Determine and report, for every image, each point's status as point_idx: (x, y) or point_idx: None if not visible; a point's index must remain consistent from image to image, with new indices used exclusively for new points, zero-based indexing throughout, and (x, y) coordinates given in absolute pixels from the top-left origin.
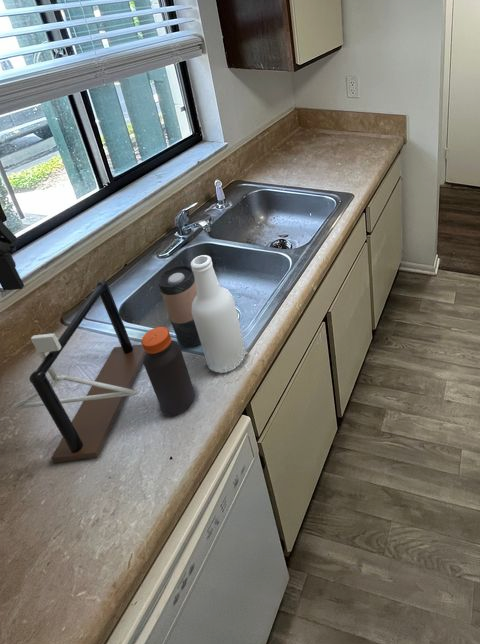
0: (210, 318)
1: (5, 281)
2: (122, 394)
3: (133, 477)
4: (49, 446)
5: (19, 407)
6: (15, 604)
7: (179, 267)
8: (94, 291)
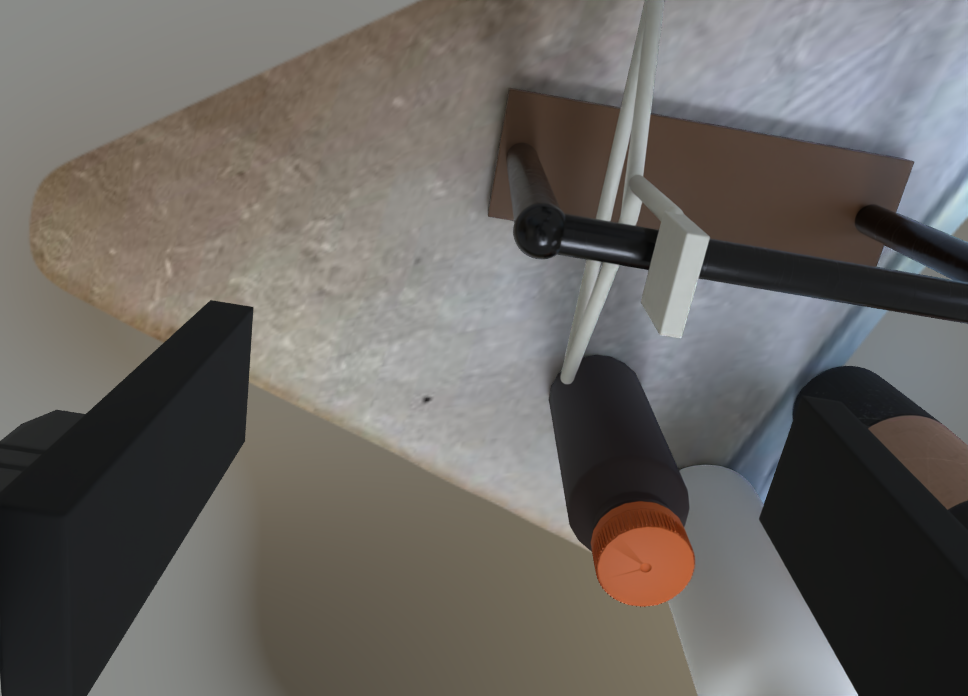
0: (699, 679)
1: (824, 494)
2: (570, 344)
3: (400, 319)
4: (573, 52)
5: None
6: (171, 129)
7: None
8: None
